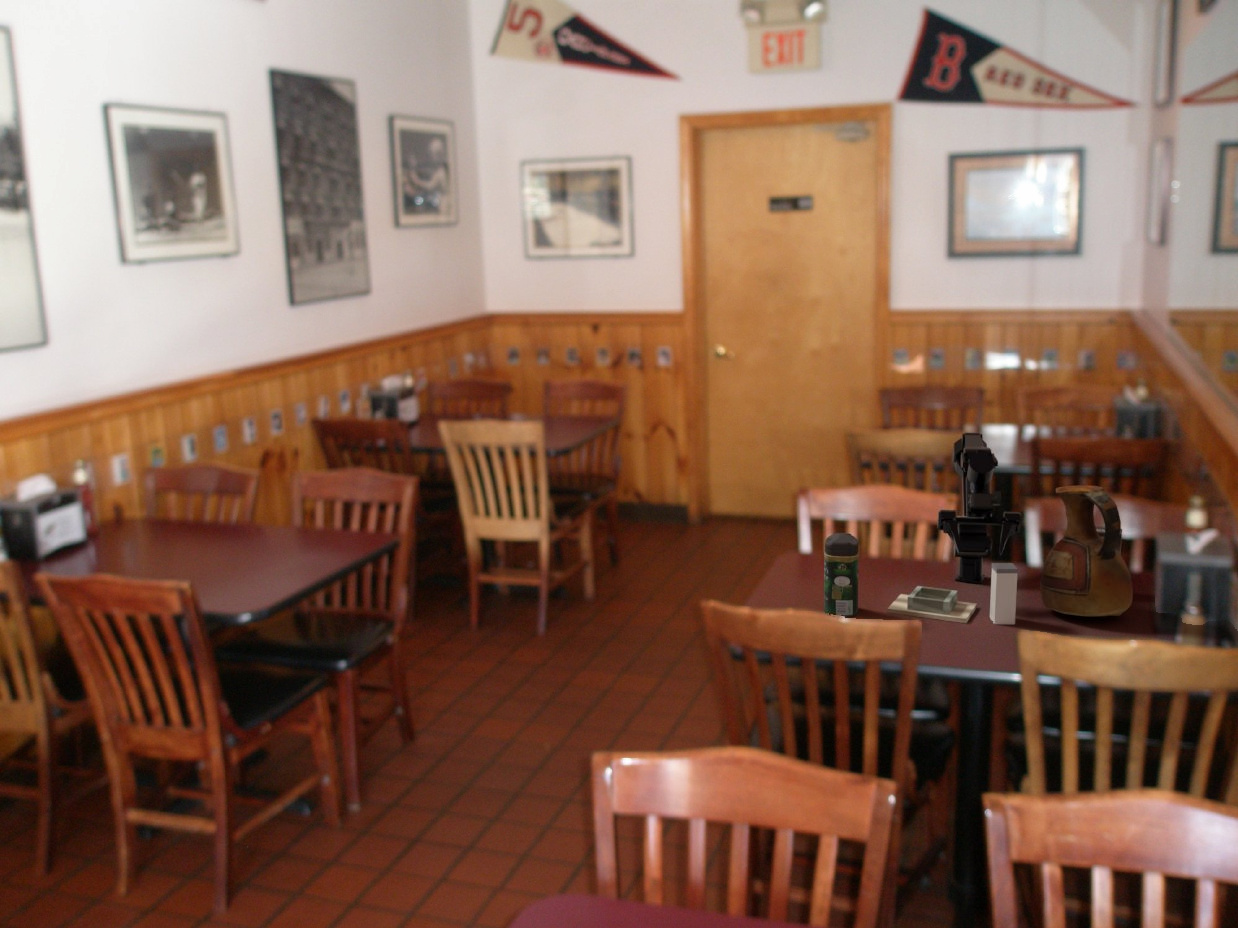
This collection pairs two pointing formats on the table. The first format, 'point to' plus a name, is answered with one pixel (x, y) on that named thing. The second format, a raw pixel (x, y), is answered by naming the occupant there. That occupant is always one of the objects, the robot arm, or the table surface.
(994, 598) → the connector plug
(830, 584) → the coffee jar
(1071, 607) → the ceramic pitcher
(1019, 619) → the table surface
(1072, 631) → the table surface
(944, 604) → the end holder
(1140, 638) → the table surface
